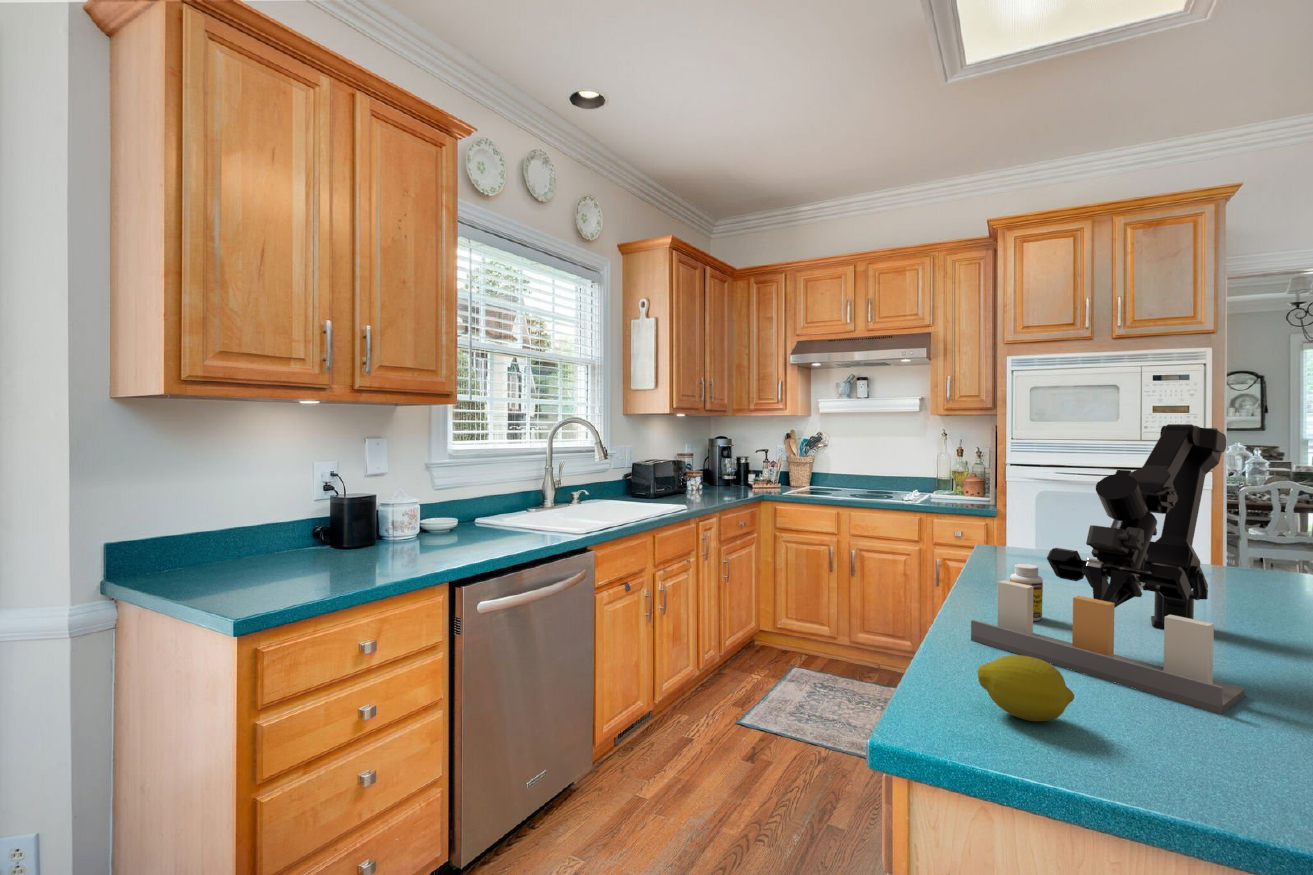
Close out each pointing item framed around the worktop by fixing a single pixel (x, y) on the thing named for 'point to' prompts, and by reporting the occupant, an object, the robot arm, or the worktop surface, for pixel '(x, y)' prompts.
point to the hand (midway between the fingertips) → (1097, 614)
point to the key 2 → (1188, 648)
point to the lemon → (1026, 687)
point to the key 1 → (1015, 607)
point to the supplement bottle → (1029, 577)
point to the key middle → (1093, 625)
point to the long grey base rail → (1111, 668)
